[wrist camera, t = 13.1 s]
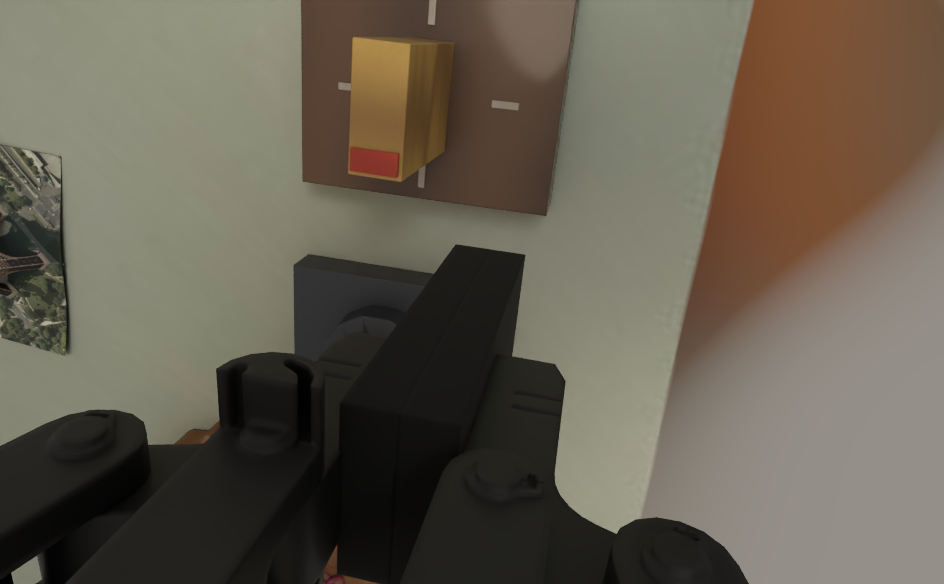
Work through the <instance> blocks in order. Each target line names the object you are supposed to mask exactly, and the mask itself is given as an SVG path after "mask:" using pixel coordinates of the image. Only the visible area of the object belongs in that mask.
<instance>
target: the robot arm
mask: <svg viewBox="0 0 944 584" xmlns="http://www.w3.org/2000/svg"><path fill="white" fill-rule="evenodd" d="M524 261H525V255H523V254H516V253H510V252H503V251H496V250H490V249H483V248H476V247H470V246H463V245H457V244H456V245H455V246H454V248H453V249H452V250H451V252H450V253H449V254H448V256H447V257H446V258H445V260H444V261H443V263H442V264H441V265H440V267H439V268H438V269H437V271H436V272H435V273H434V275H433V276H432V278H431V279H430V280H429V282H428V283H427V284H426V286H425V287H424V289H423V290H422V291H421V293H420V294H419V295H418V297H417V298H416V299H415V301H414V302H413V304H412V305H411V306H410V308H409V309H408V310H407V312H406V313H405V314H404V316H403V317H402V319H401V320H400V321H399V323H398V324H397V325H396V327H395V328H394V329H393V331H392V332H391V334H390V335H389V336H388V337H383V336H378V335H372V334H366V333H360V332H353V333H351V334H349V335H347V336H345V337H343V338H340V339H338V340H336V341H334V342H332V343H331V344H330V346H329V347H328V348H327V349H326V350H325V351H324V352H323V353H322V354H321V356H320V357H319V360H316V361H315V362H313V361H312V360H310V359H308V358H305V357H302V356H298V355H295V354H290V353H277V352H268V353H258V354H250V355H247V356H243V357H240V358H236V359H233V360H231V361H229V362H227V363H225V364H224V365H222V366H220V367H219V368H217V369H216V373H217V388H218V403H219V418H220V427H219V429H218V430H217V431H216V432H215V433H214V434H213V435H212V436H211V437H210V438H209V439H208V440H207V441H206V442H205V443H201V444H176V445H148V441H147V433H146V429H145V425H144V422H143V421H141V420H140V419H139V418H137V417H136V416H134V415H133V414H130V413H126V412H121V411H117V410H89V411H85V412H81V413H75V414H70V415H67V416H64V417H62V418H59V419H56V420H54V421H51V422H49V423H46V424H44V425H42V426H40V427H38V428H36V429H34V430H32V431H30V432H28V433H26V434H24V435H22V436H20V437H18V438H16V439H14V440H12V441H10V442H8V443H6V444H4V445H2V446H0V584H13V579H12V575H11V572H13V571H14V570H16V569H17V568H19V567H20V566H22V565H23V564H25V563H26V562H28V561H29V560H31V559H32V558H34V557H35V556H37V557H38V562H39V567H40V571H41V576H42V580H41V581H39V582H38V583H36V584H324V568H325V566H326V565H327V563H328V561H329V559H330V557H331V555H332V553H333V551H334V550H335V548H336V546H337V574H340V575H344V576H348V577H353V578H357V579H361V580H366V581H370V582H374V583H379V584H749V583H748V582H747V580H746V578H745V576H744V574H743V572H742V571H741V569H740V567H739V565H738V564H737V563H736V561H735V560H734V559H733V558H732V556H731V555H730V554H729V553H728V551H727V550H726V549H725V547H724V546H722V545H721V544H720V543H718V542H717V541H715V540H714V539H713V538H711V537H710V536H709V535H707V534H706V533H705V532H703V531H701V530H698V529H696V528H694V527H691V526H689V525H687V524H684V523H682V522H680V521H673V520H668V519H663V518H657V517H656V518H647V519H638V520H634V521H632V522H631V523H629V524H627V525H625V526H623V527H622V528H620V529H619V531H618V533H617V534H615V533H613V532H611V531H609V530H606V529H604V528H602V527H600V526H598V525H596V524H594V523H592V522H590V521H589V520H587V519H585V518H583V517H581V516H580V515H579V514H578V513H577V512H575V511H574V510H573V509H572V508H570V507H569V506H568V504H567V503H566V502H565V501H564V499H563V498H562V497H561V496H560V494H559V492H558V489H557V487H556V485H555V475H554V473H555V464H556V456H557V448H558V439H559V431H560V423H561V414H562V406H563V398H564V390H565V380H564V378H563V376H562V375H561V373H560V371H559V370H558V368H557V367H556V365H555V364H551V363H546V362H540V361H534V360H528V359H523V358H517V357H512V352H513V344H514V337H515V329H516V322H517V314H518V306H519V299H520V291H521V284H522V276H523V268H524Z"/></svg>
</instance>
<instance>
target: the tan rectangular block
mask: <svg viewBox="0 0 944 584" xmlns="http://www.w3.org/2000/svg"><path fill="white" fill-rule="evenodd" d="M453 52H454V43H453V42H445V41H437V40H429V39H420V38H412V37H353V42H352V71H351V101H350V131H349V161H348V174H352V175H359V176H365V177H372V178H378V179H385V180H392V181H398V182H402V181H403V180H405V179H406V178H407V177H409V176H410V175H412V174H413V173H415V172H416V171H417V170H419V169H420V168H422V167H423V166H425V165H426V164H427V163H429V162H430V161H432V160H433V159H435V158H436V157H437V156H439V155H440V154H442V153H443V152H444V151H445V141H446V130H447V119H448V108H449V97H450V86H451V74H452V63H453Z"/></svg>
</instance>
